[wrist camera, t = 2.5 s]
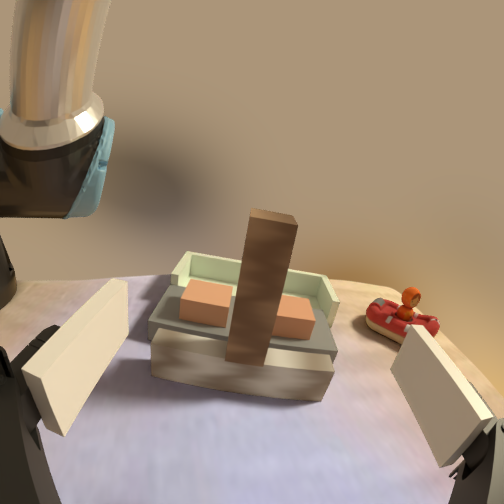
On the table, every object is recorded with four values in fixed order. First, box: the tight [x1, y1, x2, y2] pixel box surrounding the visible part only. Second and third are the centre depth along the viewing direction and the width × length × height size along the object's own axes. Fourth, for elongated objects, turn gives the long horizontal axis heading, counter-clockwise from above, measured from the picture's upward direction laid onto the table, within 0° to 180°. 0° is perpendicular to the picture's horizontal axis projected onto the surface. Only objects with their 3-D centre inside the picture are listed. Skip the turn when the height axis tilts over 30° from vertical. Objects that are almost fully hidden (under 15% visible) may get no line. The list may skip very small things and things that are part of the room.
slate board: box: [148, 284, 338, 364], centre depth 34 cm, size 20×9×2 cm, turn 88°
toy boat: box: [366, 287, 440, 344], centre depth 38 cm, size 8×12×8 cm, turn 47°
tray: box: [170, 251, 340, 327], centre depth 42 cm, size 22×9×4 cm, turn 88°
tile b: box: [272, 295, 316, 340], centre depth 32 cm, size 5×5×2 cm
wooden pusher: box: [151, 208, 335, 401], centre depth 23 cm, size 16×3×16 cm, turn 88°
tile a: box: [179, 279, 233, 328], centre depth 32 cm, size 5×5×2 cm
